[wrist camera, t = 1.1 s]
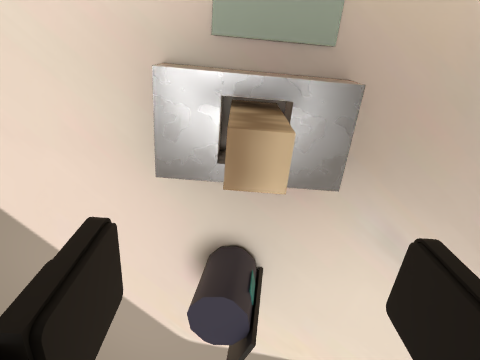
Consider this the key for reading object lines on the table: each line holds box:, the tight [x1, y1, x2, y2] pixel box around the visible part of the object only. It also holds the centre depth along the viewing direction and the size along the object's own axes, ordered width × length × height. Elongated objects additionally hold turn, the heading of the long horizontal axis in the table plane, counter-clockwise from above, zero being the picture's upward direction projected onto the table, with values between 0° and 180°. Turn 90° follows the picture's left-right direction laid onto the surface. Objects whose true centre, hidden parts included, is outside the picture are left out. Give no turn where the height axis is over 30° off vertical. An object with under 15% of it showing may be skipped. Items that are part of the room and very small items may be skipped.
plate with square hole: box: [152, 63, 365, 191], centre depth 26 cm, size 16×9×4 cm, turn 85°
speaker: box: [187, 246, 263, 360], centre depth 30 cm, size 8×6×10 cm
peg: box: [223, 99, 296, 194], centre depth 23 cm, size 4×4×10 cm
